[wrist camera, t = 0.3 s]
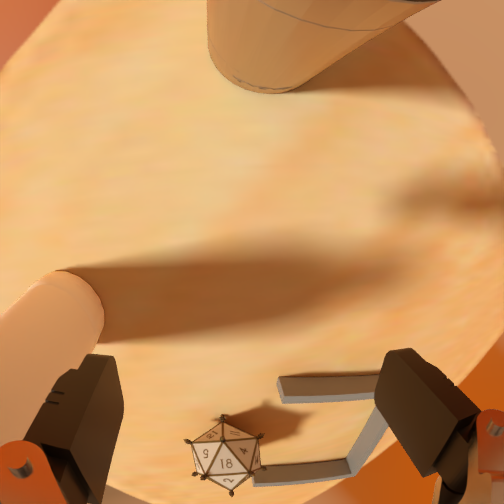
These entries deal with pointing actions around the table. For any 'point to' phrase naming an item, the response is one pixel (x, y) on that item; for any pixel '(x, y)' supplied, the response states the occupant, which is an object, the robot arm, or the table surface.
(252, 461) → the game die
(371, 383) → the bay
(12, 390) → the bottle
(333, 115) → the table surface
